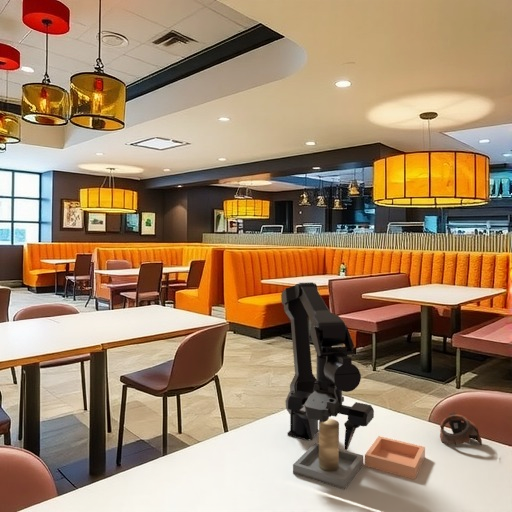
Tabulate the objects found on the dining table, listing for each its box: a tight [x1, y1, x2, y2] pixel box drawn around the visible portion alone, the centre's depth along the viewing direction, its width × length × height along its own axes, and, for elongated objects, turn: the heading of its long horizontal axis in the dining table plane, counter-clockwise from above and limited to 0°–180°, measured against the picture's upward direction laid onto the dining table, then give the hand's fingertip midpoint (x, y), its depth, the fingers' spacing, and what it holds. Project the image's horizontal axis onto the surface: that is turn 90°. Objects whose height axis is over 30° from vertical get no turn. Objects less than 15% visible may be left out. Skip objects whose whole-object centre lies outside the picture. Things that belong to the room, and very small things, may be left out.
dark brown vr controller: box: [439, 411, 483, 446], centre depth 114 cm, size 12×10×8 cm
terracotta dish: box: [364, 435, 426, 480], centre depth 103 cm, size 11×11×3 cm
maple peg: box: [318, 418, 340, 472], centre depth 100 cm, size 4×4×10 cm
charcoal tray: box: [292, 442, 364, 490], centre depth 100 cm, size 12×12×2 cm
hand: (328, 444), depth 100 cm, fingers open, 8 cm apart
